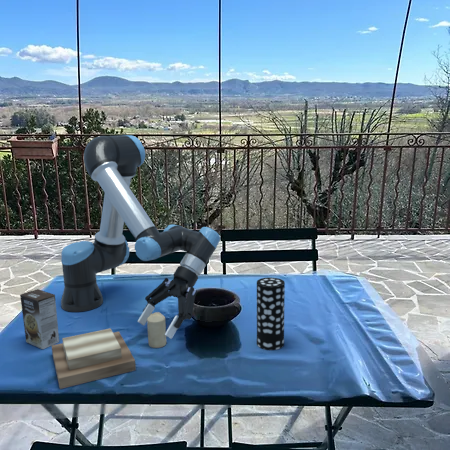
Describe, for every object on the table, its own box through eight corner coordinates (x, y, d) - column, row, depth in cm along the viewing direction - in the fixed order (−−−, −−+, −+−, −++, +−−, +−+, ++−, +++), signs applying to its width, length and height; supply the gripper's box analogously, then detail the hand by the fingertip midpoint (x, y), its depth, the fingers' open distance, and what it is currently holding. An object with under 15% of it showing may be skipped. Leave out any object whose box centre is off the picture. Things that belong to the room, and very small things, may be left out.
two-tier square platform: (52, 354, 134) (50, 336, 133) (119, 340, 143) (118, 322, 141) (59, 389, 117) (57, 368, 115) (135, 370, 125) (134, 350, 124)
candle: (163, 348, 137) (161, 318, 134) (145, 347, 138) (144, 317, 136) (168, 340, 142) (167, 310, 140) (152, 339, 143) (150, 309, 141)
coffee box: (25, 342, 142) (18, 294, 139) (43, 334, 147) (37, 288, 144) (42, 350, 137) (36, 300, 134) (60, 341, 142) (55, 293, 139)
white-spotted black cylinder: (266, 352, 133) (266, 288, 129) (251, 341, 140) (251, 280, 136) (289, 346, 137) (290, 283, 133) (274, 335, 144) (274, 275, 140)
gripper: (222, 285, 139) (187, 348, 131) (171, 269, 156) (137, 323, 148) (209, 273, 134) (172, 337, 127) (158, 257, 151) (122, 313, 144)
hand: (153, 330), depth 138 cm, fingers open, 13 cm apart
